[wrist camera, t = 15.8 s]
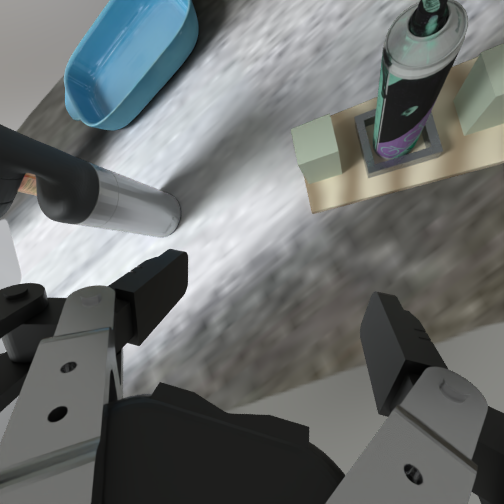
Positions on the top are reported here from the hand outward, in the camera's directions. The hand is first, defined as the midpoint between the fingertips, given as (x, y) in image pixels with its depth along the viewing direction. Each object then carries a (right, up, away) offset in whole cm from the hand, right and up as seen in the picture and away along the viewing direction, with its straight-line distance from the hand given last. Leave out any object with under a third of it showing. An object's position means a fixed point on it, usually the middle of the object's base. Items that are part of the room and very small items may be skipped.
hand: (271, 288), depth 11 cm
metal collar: (+19, +17, +24) cm, 35 cm away
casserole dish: (-25, +43, +46) cm, 68 cm away
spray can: (+19, +17, +24) cm, 35 cm away
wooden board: (+19, +17, +25) cm, 36 cm away
